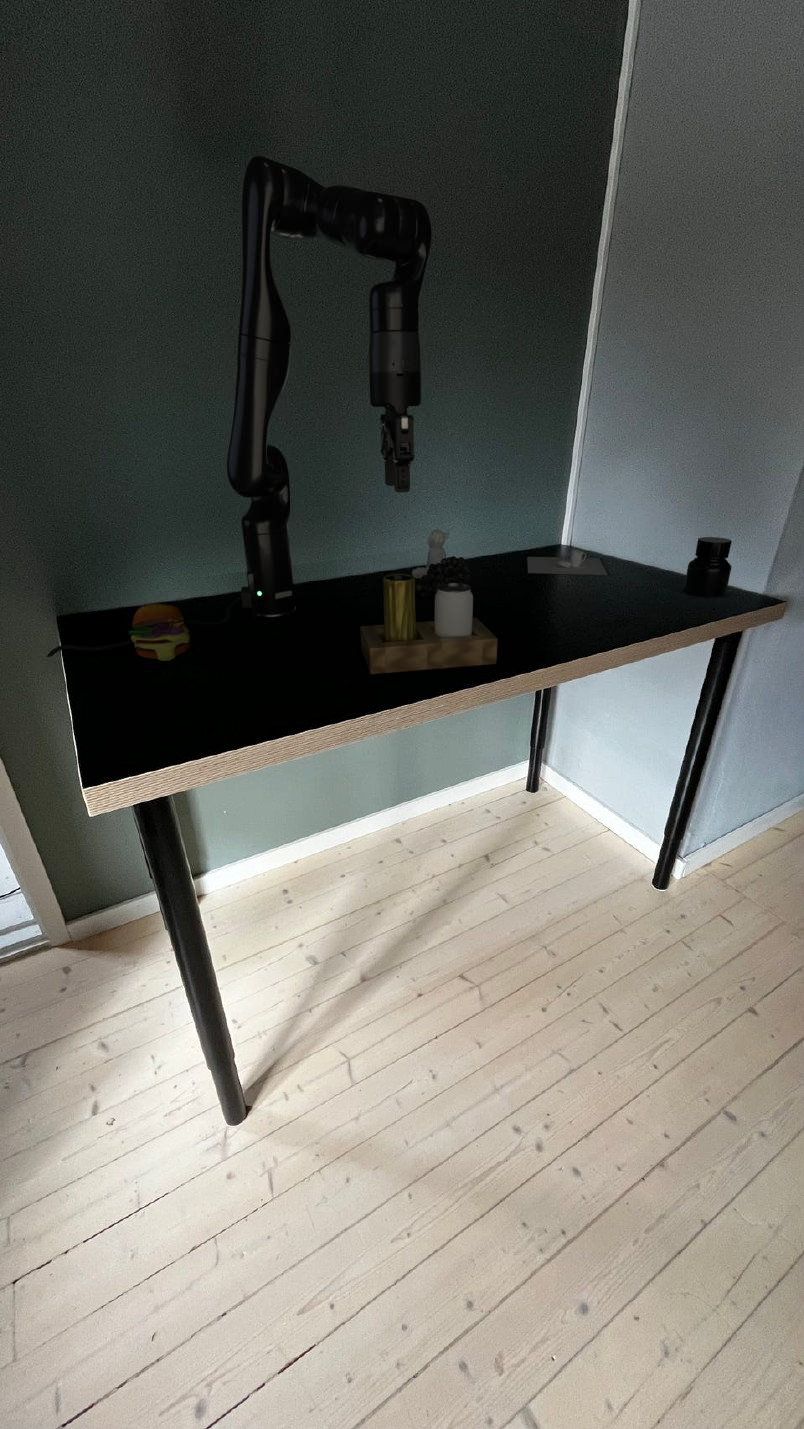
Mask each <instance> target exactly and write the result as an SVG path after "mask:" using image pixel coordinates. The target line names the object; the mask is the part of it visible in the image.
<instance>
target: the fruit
mask: <svg viewBox="0 0 804 1429" xmlns="http://www.w3.org/2000/svg"><path fill="white" fill-rule="evenodd" d="M465 563H466V559H465V558H464V557H463V556H460V557H458V558H457V557H456V556H454V555H452V556H448V557H447V556H446V558H443V559H442V560H441V564H440V563H436V564H430V565H429V569H428V570H427V575H423V576H422V577H421V578H419V580H418V581H419V583H415V593H420V596H421V597H422V598H424V599H426V598H431V596H432V595H434V594H435V595H436V593H437V591H438V586H439V585H442V584H447V583H460V584H466V585H469V586H470V583H469V582H471V580H472V575H471V570H470V567H469V566H468V565H465Z"/></svg>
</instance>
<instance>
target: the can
mask: <svg viewBox="0 0 804 1429" xmlns="http://www.w3.org/2000/svg"><path fill="white" fill-rule="evenodd" d="M471 588H472V587H471V586H470V584H469V585H466V584H460V583H447V584H442V585H439V586H438V591H437V593H436V594H435V595H434V621H435V634H436V636H437V637H438V638H449V637H462V636H472V618H473V616H474V615H473V614H474V613H473V612H474V611H473V610H474V595H473V593H472V590H471Z"/></svg>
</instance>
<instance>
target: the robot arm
mask: <svg viewBox="0 0 804 1429" xmlns="http://www.w3.org/2000/svg"><path fill="white" fill-rule="evenodd" d="M241 192H242V193H241V239H242V240H241V246H242V247H241V248H242V249H241V251H242V254H241V255H242V268H241V270H242V271H241V272H242V273H241V274H242V275H241V277H242V278H241V279H242V280H241V296H240V297H241V298H240V300H241V301H240V311H239V312H240V313H239V323H238V336H237V355H236V356H237V357H236V358H237V359H236V360H237V361H236V364H237V365H236V382H235V392H234V393H235V394H234V409H233V418H232V426H231V431H230V438H229V444H228V451H227V458H226V475H227V479H228V482H229V484H230V487H231V488H232V490H233V491H234V492H235V493H236V494H237V495H238V496H239V497H242V498H245V499H246V498H250V505H249V507H248V509H247V511H246V512H245V513H244V514H243V515H242V517H241V520H240V523H241V531H242V541H243V548H244V556H245V557H244V558H245V565H246V582H247V586H241V588H240V596H238V597H237V598H236V599H234V600H233V601H231V602H230V603H229V604H228V606H227V608H226V613H225V614H226V616H225V617H224V618H223V619H221V620H219V621H216V622H208V621H207V622H206V621H200V620H184V621H183V623H184V626H186V625H193V626H194V625H195V626H199V625H203V626H205V625H222V624H225V623H227V622H228V621H230V618H231V611H232V608H233V607H234V606H235V605H236V604H238V603H240V602H241V607H242V609H248V608H250V614H251V618H252V619H265V620H274V619H275V620H276V619H283V618H287V617H290V616H292V615H295V614H296V613H297V605H296V598H295V586H294V576H293V565H292V564H293V563H292V553H291V542H290V531H289V520H290V516H291V513H292V504H291V503H292V502H291V501H292V500H291V478H290V470H289V469H290V468H289V465H288V462H287V461H288V460H287V459H286V457H285V455H284V453H283V452H282V451H281V450H280V449H279V448H278V447H277V446H275V445H273V444H268V435H269V428H270V422H271V419H272V416H273V414H274V411H275V408H276V406H277V404H278V402H279V399H280V398H281V395H282V393H283V391H284V389H285V387H286V384H287V381H288V379H289V374H290V368H291V360H292V348H293V328H292V323H291V320H290V317H289V314H288V311H287V309H286V306H285V302H284V300H283V297H282V296H281V293H280V290H279V287H278V285H277V282H276V279H275V275H274V271H273V264H272V251H271V250H272V249H271V239H272V238H271V237H272V235H273V236H277V237H281V238H284V239H287V240H293V241H294V240H309V239H323V240H325V241H327V242H328V243H329V244H332V245H334V246H337V247H340V248H343V249H347V250H349V251H353V252H354V253H355V254H357V255H358V256H360V257H363V258H366V259H370V260H375V261H383V262H389V263H394V270H393V275H392V277H391V279H390V280H388V281H383V282H379V283H376V284H374V285H373V286H372V287H371V288H370V289H369V294H368V317H369V318H368V320H369V321H368V322H369V323H368V324H369V342H368V378H369V403H370V406H371V407H374V408H384V413H382V414H380V417H379V420H380V453H381V455H382V459H383V461H384V483H385V485H386V486H387V487H394V491H395V492H396V493H408V492H410V490H411V465H412V462H414V460H415V444H414V442H415V436H414V421H415V418H414V415H413V414H408V408H409V407H419V406H420V405H421V404H422V345H421V337H420V301H421V300H420V299H421V294H422V290H423V285H424V280H425V275H426V270H427V266H428V260H429V257H430V252H431V247H432V241H433V226H432V221H431V220H432V219H431V217H430V214H429V211H428V209H427V207H426V206H425V205H424V204H423V203H422V202H421V201H420V200H417V199H414V198H408V197H403V196H398V195H392V194H387V193H383V192H377V191H369V190H365V189H362V188H357V187H352V186H347V185H341V184H336V185H335V184H334V185H330V186H328V187H327V186H326V187H325V186H324V185H322V184H320V183H319V182H317V181H315V180H314V179H313V178H311V177H310V176H309V175H307V174H306V173H305V172H303V171H302V170H300V169H297V168H294V167H292V166H290V165H287V164H284V163H281V162H279V161H276V160H274V159H271V158H268V157H265V156H262V155H255V156H253V157H252V158H251V159H250V160H249V161H248V163H247V166H246V168H245V170H244V176H243V180H242V191H241ZM132 644H135V642H133V641H132V639H131V638H130V639H128V640H125V641H120V642H116V643H111V644H105V645H99V646H88V645H87V646H86V645H77V644H62V645H59V646H57V647H55V648H52V650H50V651H49V652H48V654H46V658H50V657H53V656H54V655H55V654H56V653H58V652H60V651H64V650H74V651H75V650H76V651H85V652H100V651H106V650H111V649H116V648H121V647H124V646H129V645H132Z"/></svg>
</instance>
